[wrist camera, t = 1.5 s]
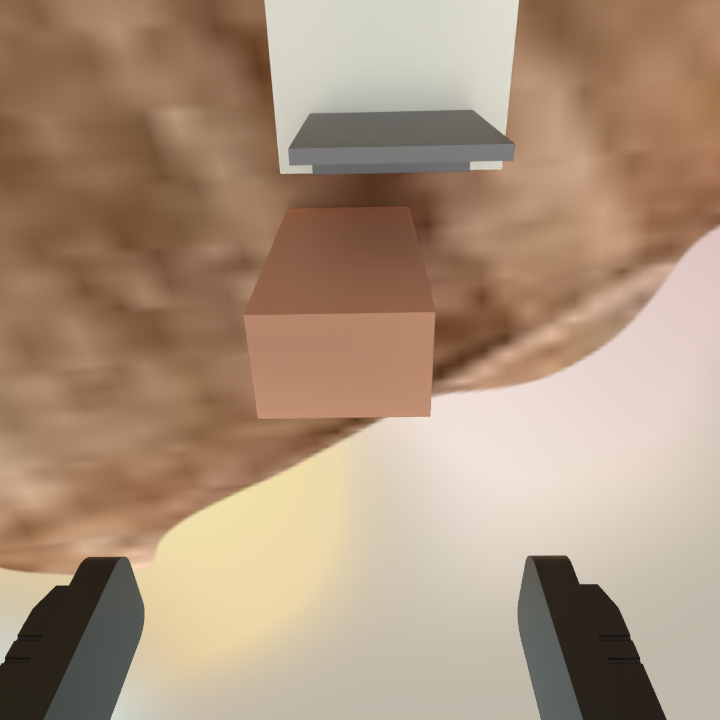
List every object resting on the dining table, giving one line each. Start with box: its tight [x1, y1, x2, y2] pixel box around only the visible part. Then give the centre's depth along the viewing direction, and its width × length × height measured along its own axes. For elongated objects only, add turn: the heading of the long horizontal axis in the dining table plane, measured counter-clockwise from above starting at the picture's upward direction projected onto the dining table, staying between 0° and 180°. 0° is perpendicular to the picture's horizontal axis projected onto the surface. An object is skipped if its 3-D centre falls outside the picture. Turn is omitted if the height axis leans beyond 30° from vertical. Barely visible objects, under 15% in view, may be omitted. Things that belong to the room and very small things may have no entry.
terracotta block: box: [243, 206, 435, 419], centre depth 24 cm, size 6×4×12 cm, turn 91°
